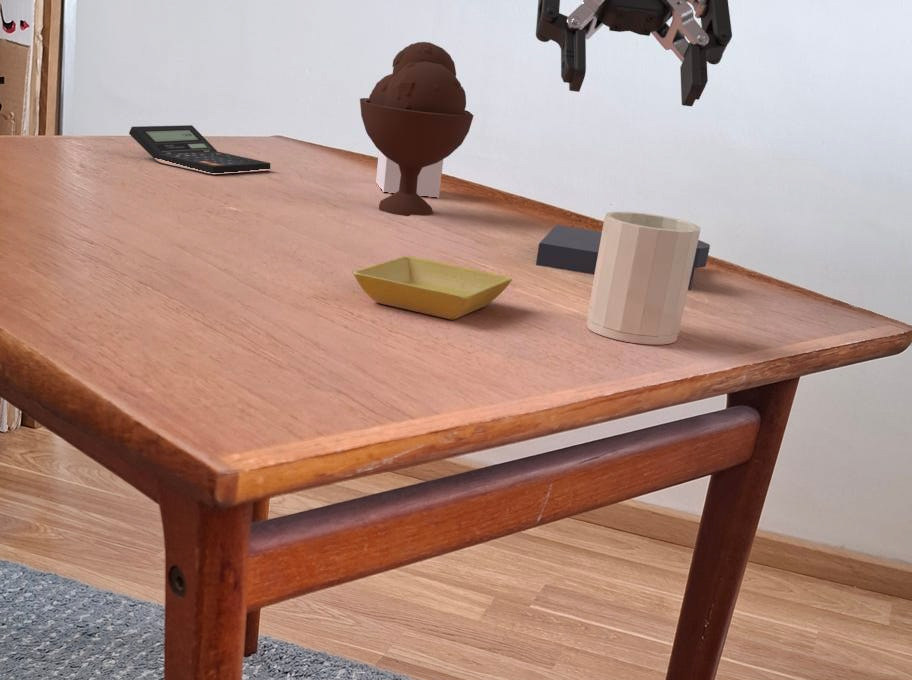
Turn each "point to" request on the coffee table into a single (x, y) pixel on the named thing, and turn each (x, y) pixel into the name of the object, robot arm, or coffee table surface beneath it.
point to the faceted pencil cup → (642, 277)
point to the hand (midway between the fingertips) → (635, 91)
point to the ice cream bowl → (416, 119)
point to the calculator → (190, 149)
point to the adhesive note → (391, 177)
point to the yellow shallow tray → (430, 286)
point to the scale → (587, 250)
